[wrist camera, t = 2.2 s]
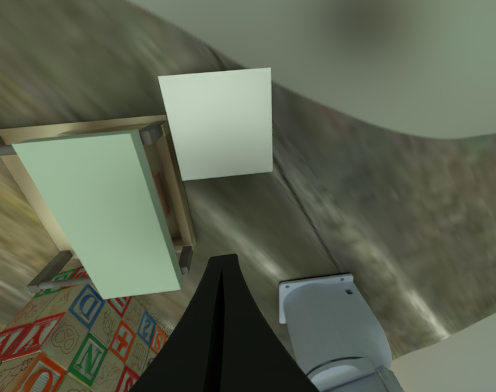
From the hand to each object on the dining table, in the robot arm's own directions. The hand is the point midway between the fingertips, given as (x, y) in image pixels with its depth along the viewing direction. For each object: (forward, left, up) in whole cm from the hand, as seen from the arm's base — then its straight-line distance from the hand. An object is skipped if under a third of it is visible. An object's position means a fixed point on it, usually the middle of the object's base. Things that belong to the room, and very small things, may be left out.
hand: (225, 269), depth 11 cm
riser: (0, -6, -10) cm, 12 cm away
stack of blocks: (+15, +18, -11) cm, 26 cm away
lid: (+8, 0, -6) cm, 9 cm away
